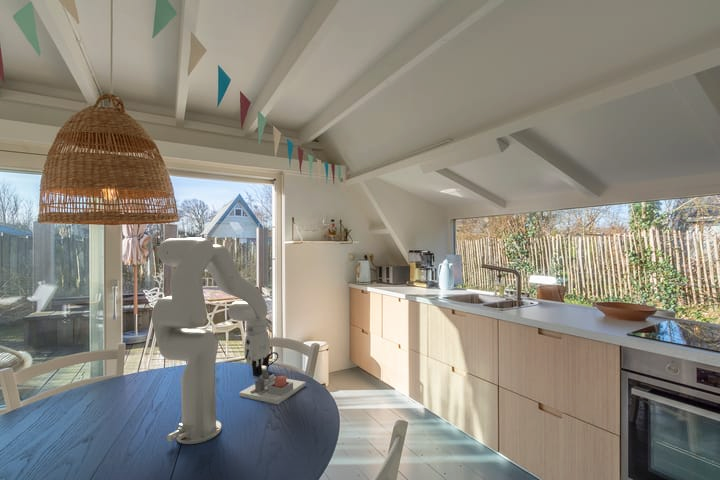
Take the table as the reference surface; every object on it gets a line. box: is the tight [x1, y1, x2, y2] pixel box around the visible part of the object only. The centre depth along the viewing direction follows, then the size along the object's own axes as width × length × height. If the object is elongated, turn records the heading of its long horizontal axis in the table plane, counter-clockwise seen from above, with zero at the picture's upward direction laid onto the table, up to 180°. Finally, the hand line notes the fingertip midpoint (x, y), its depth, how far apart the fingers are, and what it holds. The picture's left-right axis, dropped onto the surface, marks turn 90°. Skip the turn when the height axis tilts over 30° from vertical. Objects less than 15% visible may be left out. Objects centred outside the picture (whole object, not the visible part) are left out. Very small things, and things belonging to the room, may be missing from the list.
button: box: [274, 375, 287, 388], centre depth 134 cm, size 4×4×4 cm
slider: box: [254, 378, 265, 392], centre depth 134 cm, size 2×2×4 cm
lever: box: [262, 365, 271, 380], centre depth 143 cm, size 1×3×7 cm, turn 66°
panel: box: [238, 373, 306, 405], centre depth 138 cm, size 18×18×4 cm
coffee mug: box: [251, 351, 279, 371], centre depth 158 cm, size 12×9×10 cm
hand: (257, 375), depth 139 cm, fingers closed
